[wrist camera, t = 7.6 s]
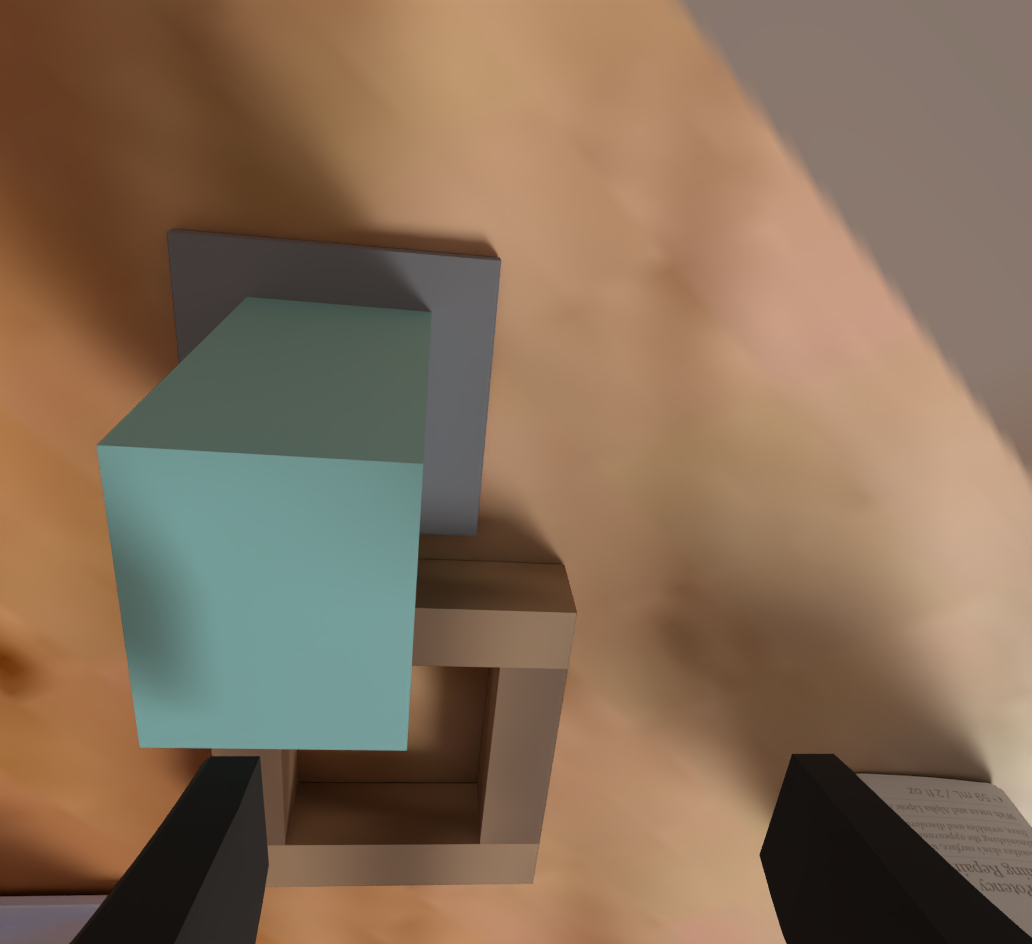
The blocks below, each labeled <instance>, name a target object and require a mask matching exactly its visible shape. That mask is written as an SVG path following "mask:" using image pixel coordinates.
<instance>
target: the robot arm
mask: <svg viewBox="0 0 1032 944" xmlns="http://www.w3.org/2000/svg"><path fill="white" fill-rule="evenodd" d="M760 858H761V862H762V865H763V869H764V873H765V876H766V880H767V883H768V887H769V891H770V894H771V898H772V901H773V904H774V907H775V911H776V914H777V917H778V920H779V924H780V927H781V930H782V933H783V936H784V938H785V941H786V943H787V944H1032V937H1031V936H1029V935H1028V934H1027V933H1026V932H1025V931H1024V930H1022V929H1021V928H1020V927H1019V926H1018V925H1017V924H1016V923H1014V922H1013V921H1012V920H1011V919H1010V918H1009V917H1008V916H1007V915H1005V914H1004V913H1003V912H1002V911H1001V910H1000V909H999V908H998V907H996V906H995V905H994V904H993V903H992V902H991V901H990V900H989V899H988V898H986V897H985V896H984V895H983V894H982V893H981V892H980V891H979V890H978V889H977V888H975V887H974V886H973V885H972V884H971V883H970V882H969V881H968V880H967V879H966V878H965V877H963V876H962V875H961V874H960V873H959V872H958V871H957V870H956V869H955V868H954V867H953V866H952V865H951V864H949V863H948V862H947V861H946V860H945V859H944V858H943V857H942V856H941V855H940V854H939V853H938V852H937V851H936V850H935V849H934V848H932V847H931V846H930V845H929V844H928V843H927V842H926V841H925V840H924V839H923V838H922V837H921V836H920V835H919V834H918V833H917V832H916V831H915V830H914V829H912V828H911V827H910V826H909V825H908V824H907V823H906V822H905V821H904V820H903V819H902V818H901V817H900V816H899V815H898V814H897V813H896V812H895V811H894V810H893V809H892V808H891V807H889V806H888V805H887V804H886V803H885V802H884V801H883V800H882V799H881V798H880V797H879V796H878V795H877V794H876V793H875V792H874V791H873V790H872V789H871V788H870V787H869V786H868V785H867V784H866V783H864V782H863V781H862V780H861V779H860V778H859V777H858V776H857V775H856V774H855V773H854V772H853V771H852V770H851V769H850V768H849V767H847V766H846V765H845V764H844V763H843V762H842V761H841V760H840V759H839V758H838V757H837V756H835V755H834V754H792V756H791V759H790V762H789V766H788V769H787V772H786V775H785V778H784V781H783V784H782V787H781V790H780V793H779V796H778V800H777V803H776V806H775V809H774V812H773V815H772V818H771V821H770V824H769V827H768V831H767V834H766V837H765V840H764V843H763V846H762V849H761V852H760ZM268 867H269V859H268V846H267V834H266V821H265V809H264V797H263V784H262V772H261V760H260V756H211V757H210V758H209V759H207V760H206V761H205V762H203V764H202V765H201V767H200V768H199V770H198V771H197V773H196V774H195V776H194V777H193V779H192V780H191V782H190V783H189V785H188V786H187V788H186V789H185V791H184V792H183V794H182V795H181V797H180V798H179V800H178V801H177V803H176V804H175V805H174V807H173V808H172V810H171V811H170V813H169V814H168V815H167V817H166V818H165V820H164V821H163V823H162V824H161V825H160V827H159V828H158V829H157V831H156V832H155V834H154V835H153V836H152V838H151V839H150V840H149V842H148V843H147V845H146V846H145V847H144V849H143V850H142V851H141V853H140V854H139V856H138V857H137V858H136V860H135V861H134V862H133V863H132V865H131V866H130V867H129V869H128V870H127V871H126V873H125V874H124V875H123V876H122V878H121V879H120V880H119V882H118V883H117V884H116V885H115V887H114V888H113V889H112V891H111V892H110V893H109V895H70V896H0V944H255V941H256V936H257V930H258V925H259V919H260V914H261V908H262V903H263V897H264V891H265V885H266V879H267V873H268Z"/></svg>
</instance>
